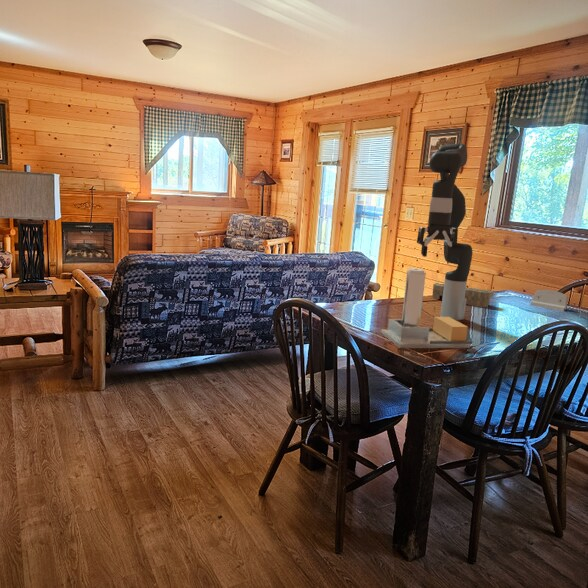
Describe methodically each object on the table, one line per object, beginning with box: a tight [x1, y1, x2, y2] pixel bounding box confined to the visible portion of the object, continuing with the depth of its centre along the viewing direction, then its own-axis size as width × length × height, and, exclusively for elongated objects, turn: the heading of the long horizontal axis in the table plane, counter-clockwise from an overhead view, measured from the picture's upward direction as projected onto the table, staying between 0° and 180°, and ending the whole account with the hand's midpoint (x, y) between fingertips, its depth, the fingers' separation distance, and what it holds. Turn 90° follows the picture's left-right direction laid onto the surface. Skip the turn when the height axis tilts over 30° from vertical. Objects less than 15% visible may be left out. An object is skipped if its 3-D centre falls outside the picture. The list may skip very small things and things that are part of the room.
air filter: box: [401, 267, 427, 327], centre depth 182 cm, size 6×6×25 cm
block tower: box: [431, 282, 494, 308], centre depth 258 cm, size 8×8×29 cm
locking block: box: [432, 316, 469, 341], centre depth 187 cm, size 6×14×6 cm, turn 11°
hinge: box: [530, 289, 568, 312], centre depth 259 cm, size 17×5×10 cm, turn 49°
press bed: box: [380, 318, 473, 349], centre depth 185 cm, size 28×18×6 cm, turn 101°
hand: (435, 256), depth 179 cm, fingers open, 8 cm apart
